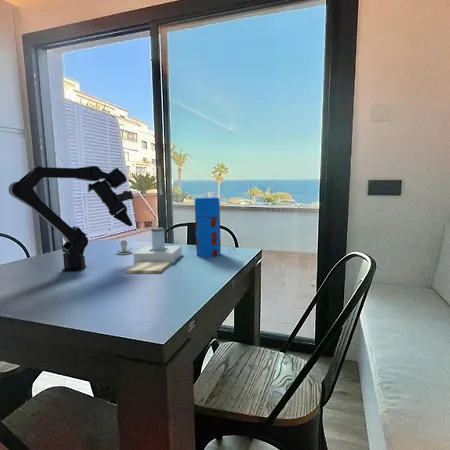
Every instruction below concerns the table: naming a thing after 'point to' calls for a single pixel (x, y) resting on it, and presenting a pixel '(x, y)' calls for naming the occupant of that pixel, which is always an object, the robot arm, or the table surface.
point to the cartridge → (158, 239)
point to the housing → (158, 254)
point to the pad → (148, 267)
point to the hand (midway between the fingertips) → (131, 225)
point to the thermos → (207, 227)
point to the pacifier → (123, 248)
